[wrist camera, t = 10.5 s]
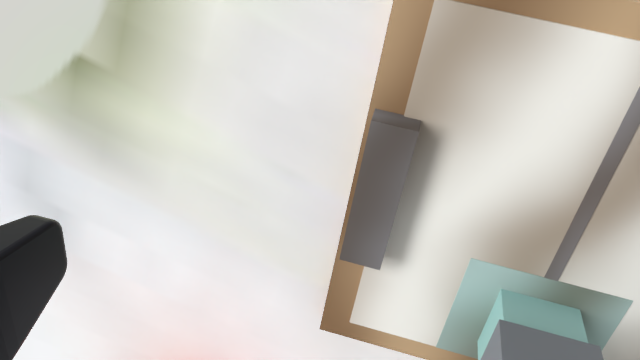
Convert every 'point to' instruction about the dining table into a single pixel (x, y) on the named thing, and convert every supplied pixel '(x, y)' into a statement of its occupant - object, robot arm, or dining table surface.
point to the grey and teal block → (534, 331)
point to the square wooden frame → (495, 175)
